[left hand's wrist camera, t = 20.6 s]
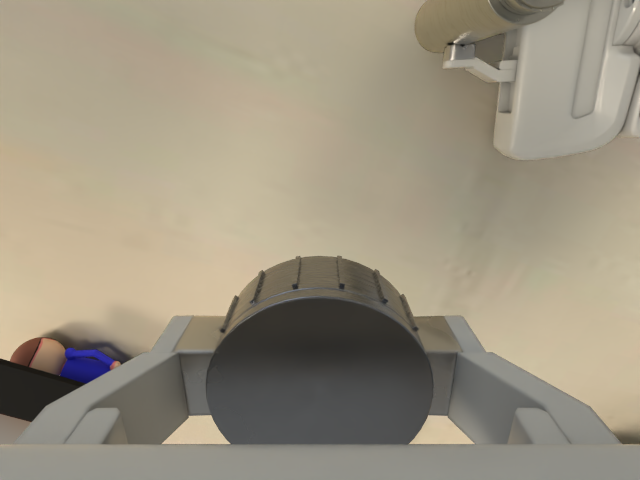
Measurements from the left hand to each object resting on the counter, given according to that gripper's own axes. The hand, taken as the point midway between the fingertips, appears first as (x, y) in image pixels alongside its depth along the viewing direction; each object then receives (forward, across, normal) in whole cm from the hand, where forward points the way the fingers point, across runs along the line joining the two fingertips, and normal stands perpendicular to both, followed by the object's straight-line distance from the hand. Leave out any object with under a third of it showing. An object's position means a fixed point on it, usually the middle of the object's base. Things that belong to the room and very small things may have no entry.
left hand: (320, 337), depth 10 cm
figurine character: (+27, -25, -22) cm, 43 cm away
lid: (-2, 0, 0) cm, 2 cm away
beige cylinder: (+27, +10, +11) cm, 31 cm away
